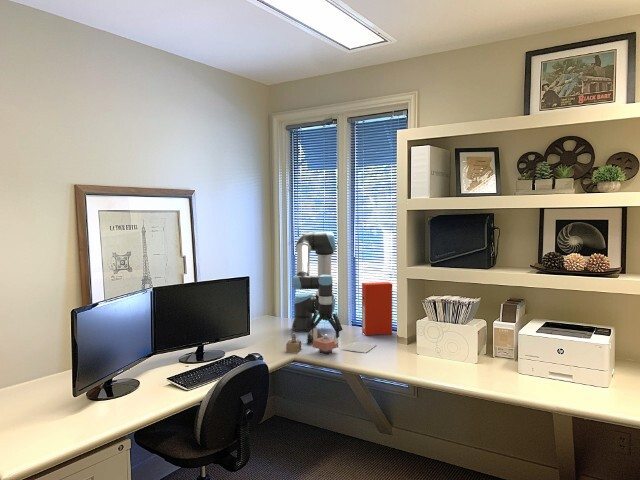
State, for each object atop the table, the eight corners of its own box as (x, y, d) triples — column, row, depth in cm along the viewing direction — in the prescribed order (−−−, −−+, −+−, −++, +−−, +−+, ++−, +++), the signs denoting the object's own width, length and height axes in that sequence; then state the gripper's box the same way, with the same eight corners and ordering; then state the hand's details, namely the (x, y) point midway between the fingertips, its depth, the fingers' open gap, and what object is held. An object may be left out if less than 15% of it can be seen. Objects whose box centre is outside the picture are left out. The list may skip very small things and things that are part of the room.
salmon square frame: (325, 343, 270) (325, 336, 270) (338, 347, 263) (338, 339, 262) (312, 347, 263) (312, 339, 263) (325, 351, 256) (325, 343, 255)
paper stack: (392, 348, 272) (392, 347, 272) (376, 360, 250) (376, 359, 250) (354, 343, 282) (354, 341, 282) (336, 354, 260) (336, 353, 260)
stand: (289, 348, 270) (289, 331, 270) (301, 349, 269) (301, 332, 268) (286, 352, 263) (286, 334, 263) (298, 353, 262) (298, 335, 262)
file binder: (361, 332, 305) (362, 282, 303) (387, 331, 308) (388, 281, 306) (365, 335, 297) (365, 284, 295) (392, 334, 300) (392, 283, 298)
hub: (320, 350, 267) (320, 332, 266) (332, 350, 266) (332, 333, 265) (318, 354, 260) (318, 336, 259) (330, 354, 259) (330, 336, 258)
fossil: (324, 345, 275) (315, 329, 275) (310, 352, 277) (302, 336, 276) (326, 339, 286) (318, 324, 286) (312, 346, 287) (304, 331, 287)
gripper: (302, 301, 265) (303, 339, 267) (341, 307, 251) (341, 346, 253) (310, 299, 271) (310, 336, 273) (348, 304, 257) (348, 343, 259)
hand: (325, 341), depth 263 cm, fingers open, 13 cm apart
